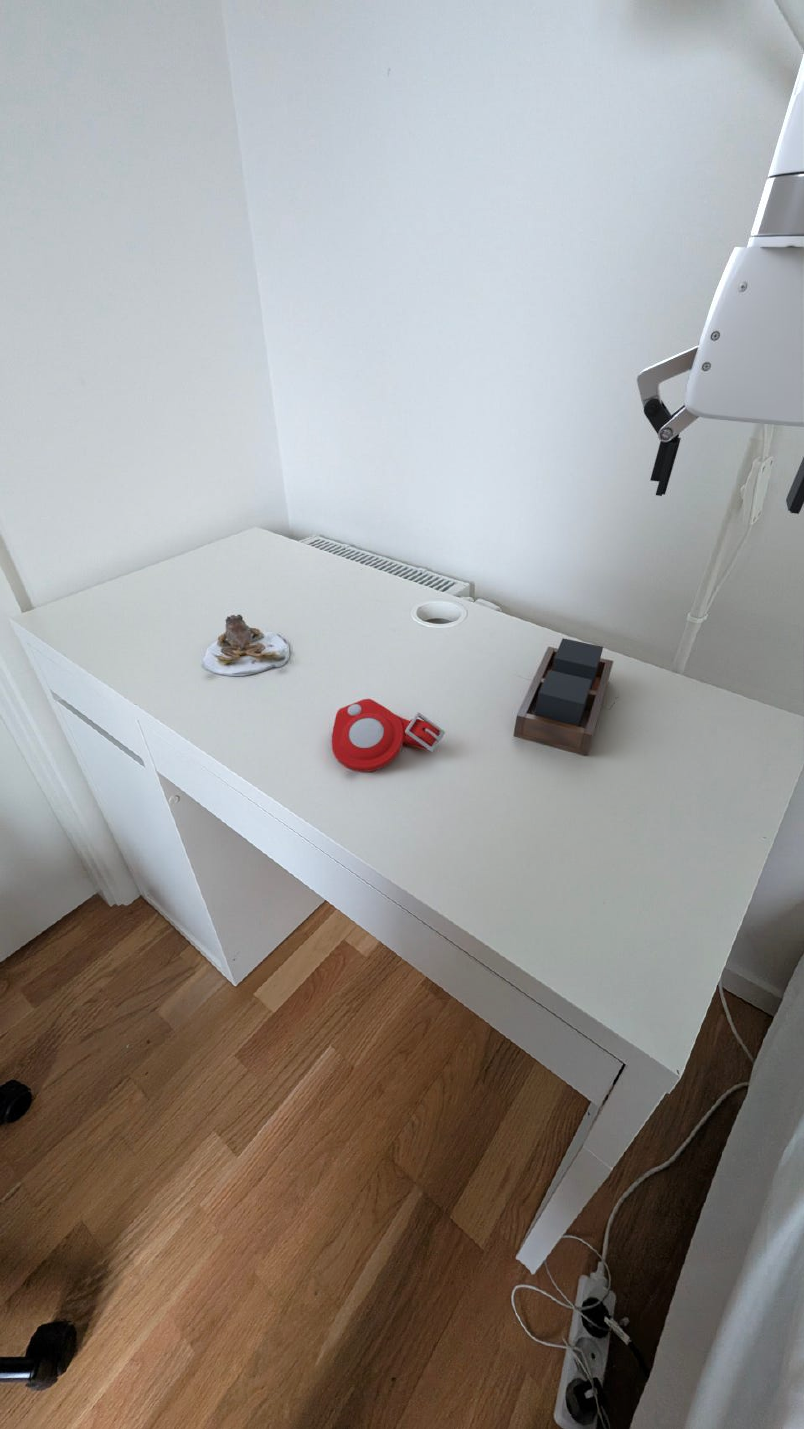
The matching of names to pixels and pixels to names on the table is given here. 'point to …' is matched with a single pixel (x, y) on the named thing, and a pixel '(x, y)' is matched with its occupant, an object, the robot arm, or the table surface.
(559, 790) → the table surface
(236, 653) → the frog figurine
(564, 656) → the dark grey block
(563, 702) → the dark grey cube
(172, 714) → the table surface
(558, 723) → the frame
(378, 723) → the tracker holder
